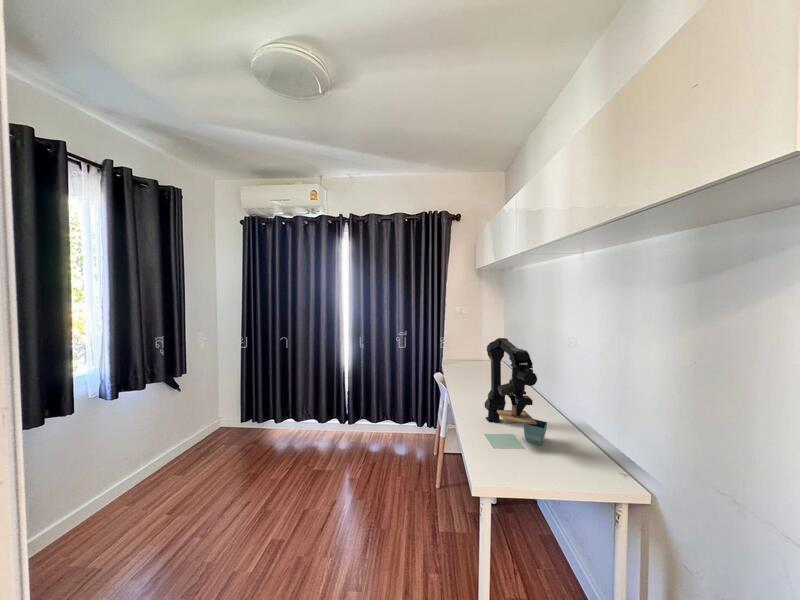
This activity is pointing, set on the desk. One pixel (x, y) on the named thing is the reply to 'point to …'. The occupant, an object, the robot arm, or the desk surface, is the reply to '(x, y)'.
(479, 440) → the desk surface
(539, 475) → the desk surface
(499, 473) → the desk surface
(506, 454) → the desk surface
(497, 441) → the mat
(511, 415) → the lid
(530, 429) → the flower pot
